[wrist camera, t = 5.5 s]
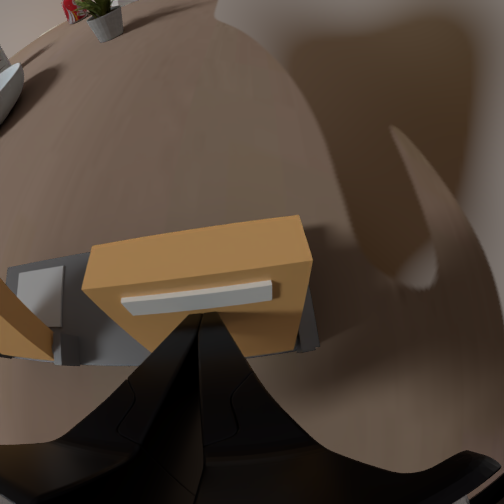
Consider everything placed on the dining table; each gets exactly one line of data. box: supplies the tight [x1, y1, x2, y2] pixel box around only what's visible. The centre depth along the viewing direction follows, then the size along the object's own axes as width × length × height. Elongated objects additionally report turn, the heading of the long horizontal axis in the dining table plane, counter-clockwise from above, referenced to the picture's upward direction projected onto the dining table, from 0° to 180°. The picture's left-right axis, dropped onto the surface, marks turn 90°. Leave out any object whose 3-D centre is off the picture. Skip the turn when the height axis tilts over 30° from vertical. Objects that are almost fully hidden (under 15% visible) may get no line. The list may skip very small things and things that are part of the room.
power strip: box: [0, 252, 320, 366], centre depth 15 cm, size 7×31×5 cm, turn 98°
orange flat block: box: [81, 215, 313, 357], centre depth 10 cm, size 2×6×8 cm, turn 97°
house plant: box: [72, 0, 123, 42], centre depth 28 cm, size 14×14×16 cm
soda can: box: [62, 0, 88, 24], centre depth 43 cm, size 7×7×12 cm
